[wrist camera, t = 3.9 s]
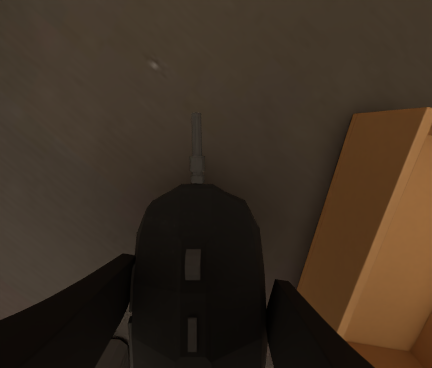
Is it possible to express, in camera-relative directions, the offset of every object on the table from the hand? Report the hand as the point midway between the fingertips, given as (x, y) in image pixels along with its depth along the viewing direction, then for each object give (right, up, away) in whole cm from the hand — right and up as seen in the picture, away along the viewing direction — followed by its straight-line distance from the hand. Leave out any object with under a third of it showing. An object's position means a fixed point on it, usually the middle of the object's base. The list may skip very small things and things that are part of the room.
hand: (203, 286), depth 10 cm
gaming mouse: (0, 0, +2) cm, 2 cm away
